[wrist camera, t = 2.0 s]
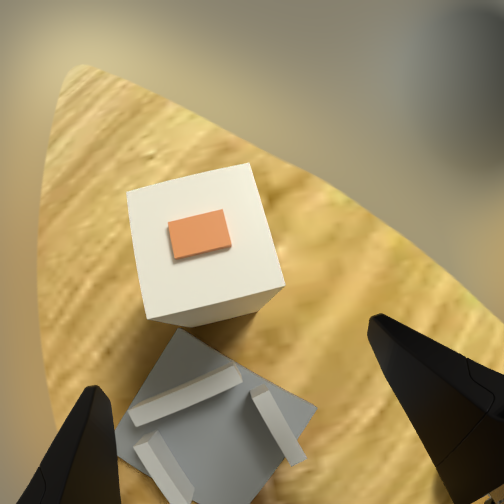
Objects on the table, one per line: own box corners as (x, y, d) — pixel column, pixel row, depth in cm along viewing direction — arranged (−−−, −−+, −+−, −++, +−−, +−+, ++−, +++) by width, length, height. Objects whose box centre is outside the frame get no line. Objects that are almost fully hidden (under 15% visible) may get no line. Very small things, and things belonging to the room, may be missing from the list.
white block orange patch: (257, 311, 20) (286, 284, 10) (191, 327, 20) (144, 318, 9) (240, 245, 21) (248, 155, 11) (176, 260, 21) (123, 185, 10)
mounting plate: (238, 513, 16) (240, 544, 12) (111, 441, 17) (87, 461, 13) (316, 404, 19) (336, 419, 15) (182, 326, 20) (169, 324, 16)
